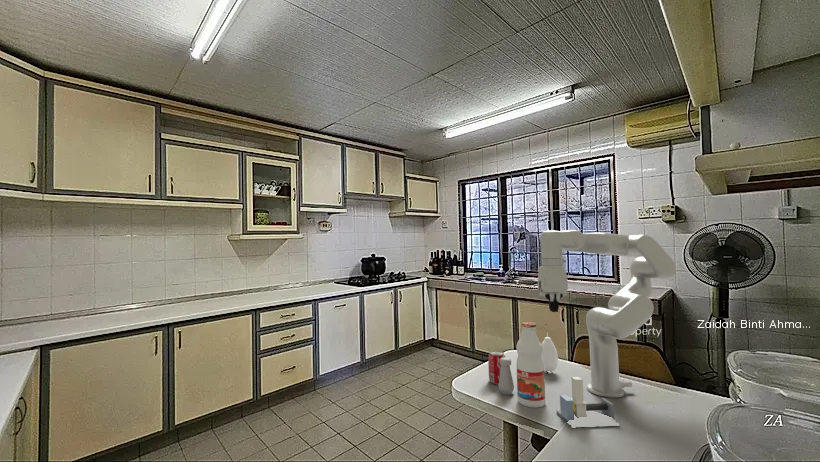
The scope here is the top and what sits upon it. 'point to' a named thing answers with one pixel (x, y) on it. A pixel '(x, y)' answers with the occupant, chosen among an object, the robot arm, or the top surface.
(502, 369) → the salt shaker
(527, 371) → the fruit juice
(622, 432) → the top surface
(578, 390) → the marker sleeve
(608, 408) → the blue block with rod
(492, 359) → the soda can
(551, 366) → the sauce bottle
